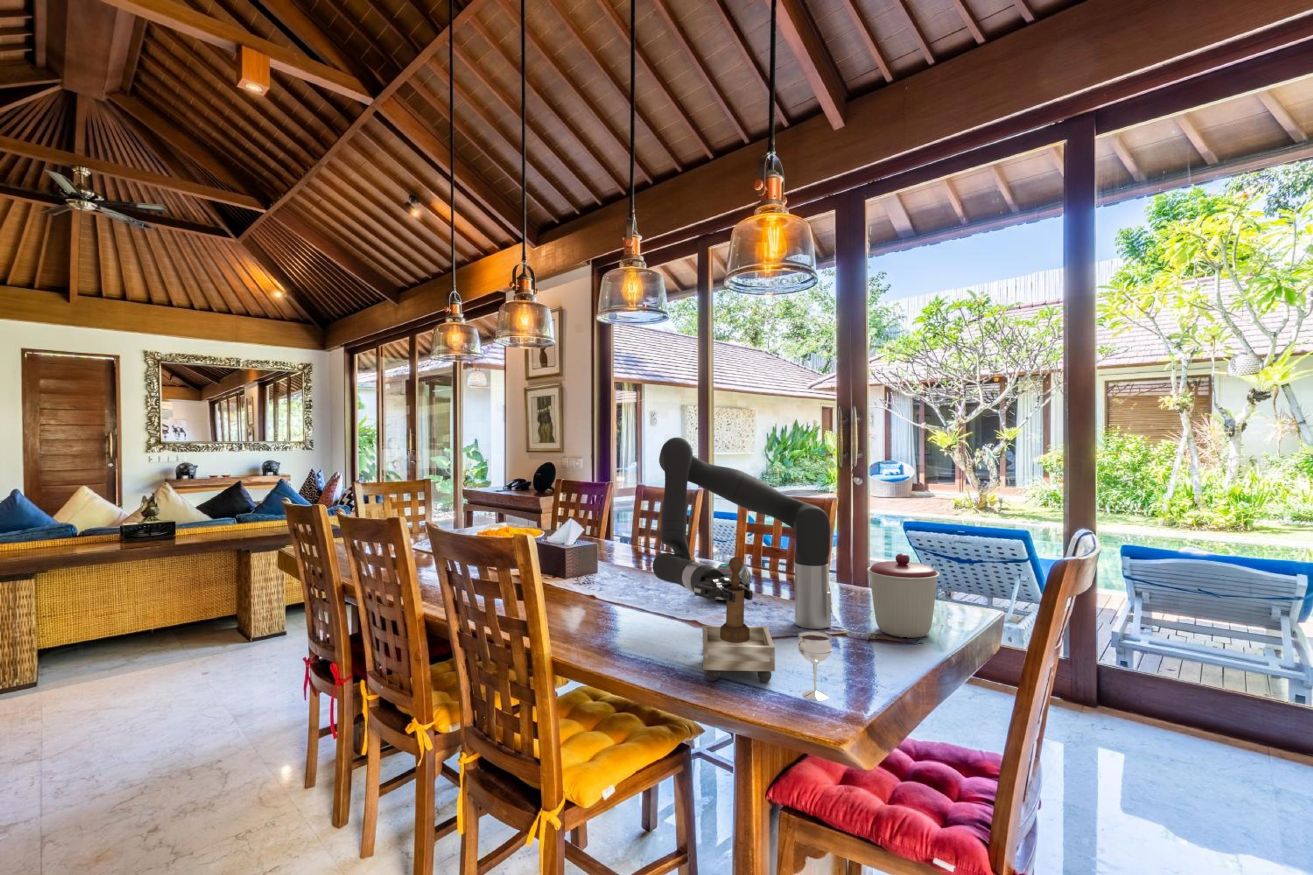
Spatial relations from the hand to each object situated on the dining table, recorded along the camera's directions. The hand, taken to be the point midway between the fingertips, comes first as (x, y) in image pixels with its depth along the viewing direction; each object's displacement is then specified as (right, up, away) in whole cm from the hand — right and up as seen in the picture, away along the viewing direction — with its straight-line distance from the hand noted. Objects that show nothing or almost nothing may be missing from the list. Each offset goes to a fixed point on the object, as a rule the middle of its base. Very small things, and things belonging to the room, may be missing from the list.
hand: (742, 596), depth 135 cm
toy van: (+6, -18, +72) cm, 75 cm away
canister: (+47, -18, +30) cm, 59 cm away
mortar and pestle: (-1, -10, +2) cm, 11 cm away
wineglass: (+13, -17, -11) cm, 24 cm away
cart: (-1, -17, +2) cm, 18 cm away
